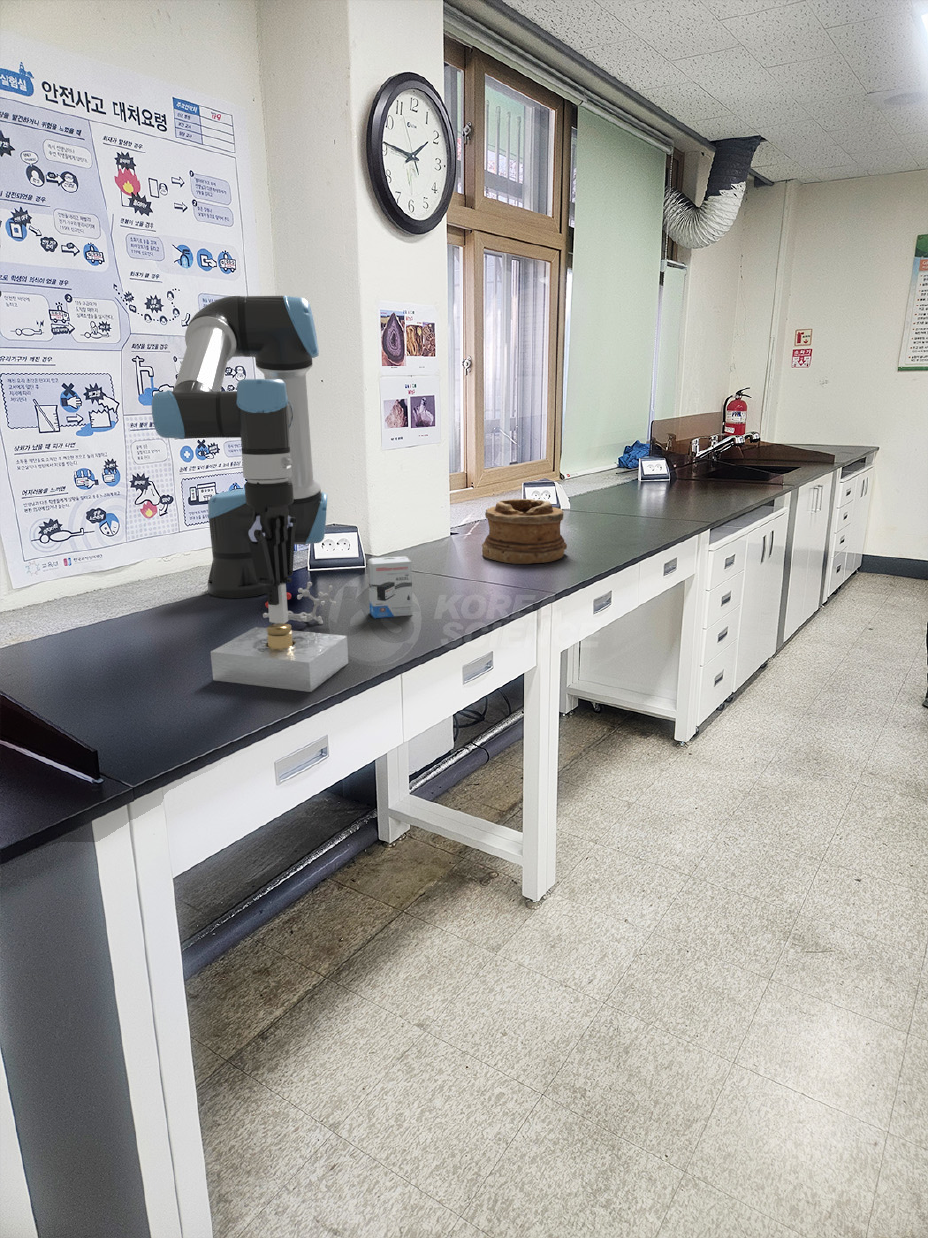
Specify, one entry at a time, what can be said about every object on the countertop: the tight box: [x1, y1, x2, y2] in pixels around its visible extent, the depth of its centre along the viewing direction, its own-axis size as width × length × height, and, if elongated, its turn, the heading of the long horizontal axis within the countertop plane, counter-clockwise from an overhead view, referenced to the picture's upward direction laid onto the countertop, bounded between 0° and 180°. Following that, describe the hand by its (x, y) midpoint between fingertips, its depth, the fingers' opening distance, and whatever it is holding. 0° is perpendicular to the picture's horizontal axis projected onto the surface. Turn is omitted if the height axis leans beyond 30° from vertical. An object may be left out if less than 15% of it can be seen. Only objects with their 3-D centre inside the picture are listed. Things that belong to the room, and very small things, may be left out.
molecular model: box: [262, 581, 337, 625], centre depth 158 cm, size 19×10×10 cm, turn 148°
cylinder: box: [266, 623, 293, 649], centre depth 136 cm, size 4×4×8 cm
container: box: [481, 498, 568, 565], centre depth 221 cm, size 22×24×15 cm
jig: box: [210, 626, 349, 693], centre depth 136 cm, size 18×14×5 cm
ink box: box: [367, 555, 414, 619], centre depth 168 cm, size 8×5×12 cm, turn 105°
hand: (278, 621), depth 134 cm, fingers closed
